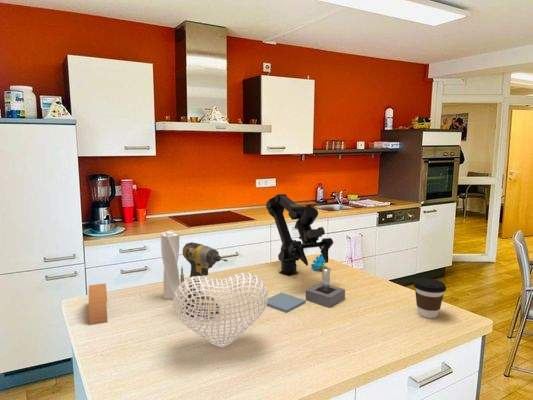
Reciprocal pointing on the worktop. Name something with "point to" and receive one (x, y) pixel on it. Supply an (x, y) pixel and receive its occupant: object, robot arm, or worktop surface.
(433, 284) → the coffee cup
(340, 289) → the socket block
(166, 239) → the skyscraper
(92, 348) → the worktop surface
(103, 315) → the orange rectangular block
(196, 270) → the cordless drill
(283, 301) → the mat
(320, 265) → the blue flower bunch
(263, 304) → the heart
